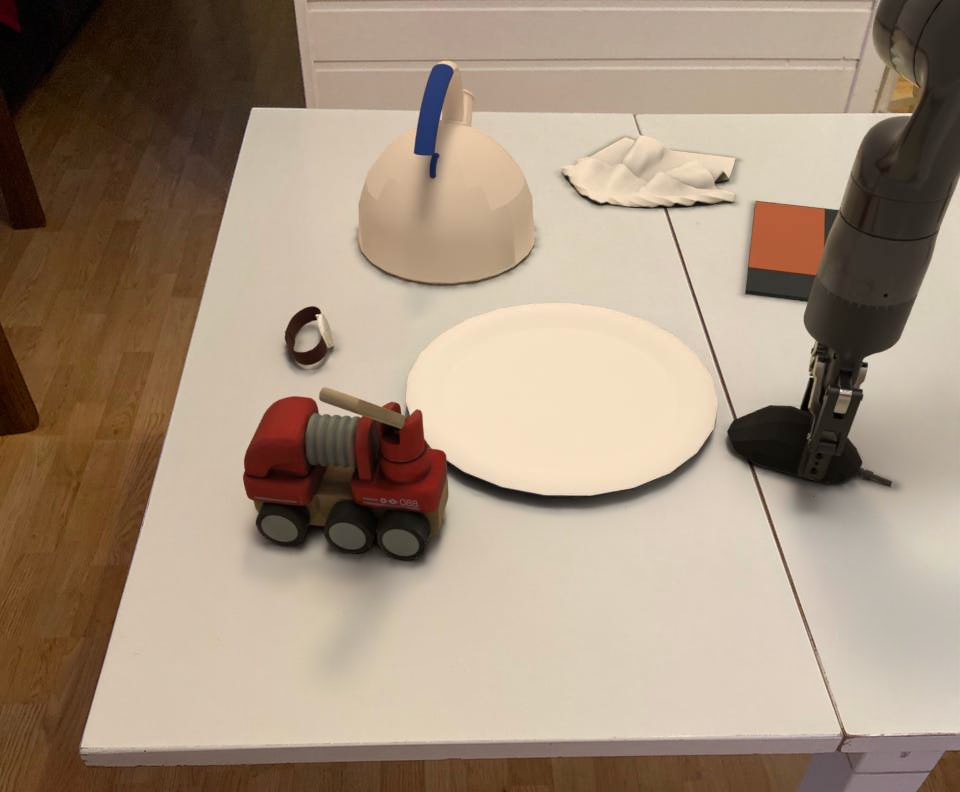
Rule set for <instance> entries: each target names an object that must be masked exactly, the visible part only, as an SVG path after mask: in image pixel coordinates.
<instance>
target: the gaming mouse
mask: <svg viewBox="0 0 960 792" xmlns="http://www.w3.org/2000/svg"><path fill="white" fill-rule="evenodd" d="M811 420H812V415H811V414H810V413H809V412H806V411H804V410H801V409H800V408H798V407H796V406H794V405H780V404H779V405H776V404H774V405H773V404H772V405H771V404H769V405H767V406H764V407H761V408H759V409H757V410H754V411H752V412H750V413H747V414H745V415H742V416H740V417H737V418H736V419H733V420H732V422H731V424H730V425H729V427H728V429H727V431H726V432H727V437H728V440H729V442H730V444H731V447H732V449H733V450H734V451H735V453H736V454H737V455H739V456H741V457H742V458H744V459H746V460H747V461H749V462H751V463H753V464H755V465H757V466H761V467H764V468H768V469H771V470H774V471H778V472H782V473H785V474H789V475H793V476H796V477H799V476H798V474H797V473H798V465H799V462H800V459H801V457H802V454H803V451H804V448H805V445H806V442H807V439H806V437H807V433H809V429H810V425H811ZM824 431H828V432H834V431H832V430H824ZM862 465H863V459H862V458H861V455H860V453H859V451H858V449H857V447H856V446H855V445H854V443H853V442H852V441H851V440H850V439H849V437H847V440H846V443H845V445H844V451H843V452H842V454H841V456H836V455H832V457H831V460H830V462H829V465H828V467H827V470H826V473H825V475H824V477H823V478H822V479H821V480H814V479H808V478H805V479H806V480H811V481H815V482H819V483H822V484H844V483H845V482H847V481H848V480H850V479H851V478H853V477H855V476H856V475H859V476H862V477H864V478H866V479H868V480H871V479H872V480H875V481H877V482H880V483H883V484H885V485H888V486H892V484H893V481H892V480H890V479H887V478H885V477H883V476H880V475H877V474H875V473H874V472H873V471H872V470H869V469H865V468H863V467H862Z"/></svg>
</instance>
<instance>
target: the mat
mask: <svg viewBox="0 0 960 792" xmlns="http://www.w3.org/2000/svg"><path fill="white" fill-rule="evenodd" d="M753 211H754V212H753V219H752V230H751V238H750V245H749V246H750V248H749V257H748V266H747V276H746V284H745V292H744V293H745V294H747V295H755V296H764V297H771V298H772V297H773V298H780V299H786V300H787V299H788V300H794V301H795V300H796V301H803V302H808V299H809V296H810V293H811V289H812V286H813V283H814V280H815V276H816V273H817V270H818V266H819V263H820V260H821V257H822V253H823V250H824V247H825V243H826V240H827V237H828V234H829V232H830V230H831V227H832V225H833V223H834V221H835V219H836V217H837V214H838V212H839V209H833V208H824V207H816V206H807V205H806V206H805V205H798V204H789V203H780V202H771V201H760V200H755V203H754V210H753Z"/></svg>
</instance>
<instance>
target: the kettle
mask: <svg viewBox="0 0 960 792" xmlns="http://www.w3.org/2000/svg"><path fill="white" fill-rule="evenodd" d="M463 82H464V81H463V78H462V73H461V70H460V69H459V67H458V65H457V64H456V63H455V62H453V61H450V60H442V61H440V62H438V63H436V64H435V65H433V67H432V68H431V70H430V73H429V75H428V78H427V81H426V84H425V87H424V91H423V95H422V100H421V104H420V109H419V114H418V119H417V124H416V127H415V128H413V129H410V130H408V131H406V132H405V133H403V134H402V135H400V136H399V137H398V138H397V139H395V140H394V141H392V142H391V143H390V144H389V145H387V146H386V147H385V149H384V150H383V151H382V152H381V153H380V154H379V156H378V158H377V159H376V160H375V162H374V163H373V164H372V165H371V167H370V168H369V169H368V171H367V174H366V177H365V180H364V183H363V185H362V189H361V192H360V196H359V200H358V235H357V240H358V244H359V248H360V251H361V252H362V254H364V256H365V257H366V258H367V259H368V261H369V262H370V263H372V264H373V265H374V266H376V267H378V268H379V269H381V270H382V271H384V272H386V273H388V274H390V275H393V276H396V277H398V278H401V279H404V280H408V281H413V282H418V283H423V284H433V285H436V284H437V285H456V284H458V285H459V284H467V283H472V282H478V281H482V280H485V279H489V278H493V277H496V276H498V275H501V274H502V273H504V272H506V271H509V270H511V269H512V268H514V267H515V266H516V265H518V264H519V263H520V262H521V261H522V260H524V259H525V258H526V257H527V256H528V255H529V253H530V252H531V250H532V248H533V247H534V245H535V241H536V240H535V239H536V238H535V237H536V231H535V226H534V225H535V224H534V206H533V195H532V192H531V189H530V187H529V185H528V184H529V183H528V182H527V179H526V177H525V174H524V171H522V169H521V167H520V165H519V164H518V163H517V161H516V160H515V158H513V156H512V154H510V153H509V151H508V150H507V148H505V147H504V146H503V145H502V144H501V143H499V142H498V141H497V140H495V139H494V138H492V137H491V136H489V135H488V134H487V133H485V132H484V131H481V130H479V129H478V128H475V127H473V126H472V124H473V123H472V120H473V110H474V104H476V98H475V95H474V94H473V93H472V92H471V91H470V90H467V89H465V88H464V83H463Z"/></svg>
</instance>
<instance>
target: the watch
mask: <svg viewBox="0 0 960 792" xmlns="http://www.w3.org/2000/svg"><path fill="white" fill-rule="evenodd" d="M315 321H316V322H317V326H318V327H317V328H318V331H319V333H320V339H319V342H318V343H317V344H316V345H315V346H314V347H313V348H312V349H309V350H306V351H296V350H295V347H294V346H295V343H296V336H297V335H298V333H299V331H300V330H301V329H302V328H303V327H305V326H306V325H307V324H310V323H312V322H315ZM284 341H285V344H286V345H287V347H288V349H289V351H290V354H291V355H292V357H293V359H294V361H295V362H296V363H297V364H300V365H301V366H312V365H315V364H317V363H320V362H321V360H323V359H324V358H325V356H326V354H327V352H328V350H329V349H331V348H332V347H333V346H334V345H335V343H334V337H333V333H332V329H331V326H330V324H329V322H328V320H327V318H326V316H325V314H323V313H322V311H321V308H319V307H318V306H315V305H311V306H306V307H304V308H302V309H301V310H299V311H298V312H296V313H295V314H294V315H292V317H291V318H290V320H289V321H288V323H287V326H286V329H285V331H284Z"/></svg>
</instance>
